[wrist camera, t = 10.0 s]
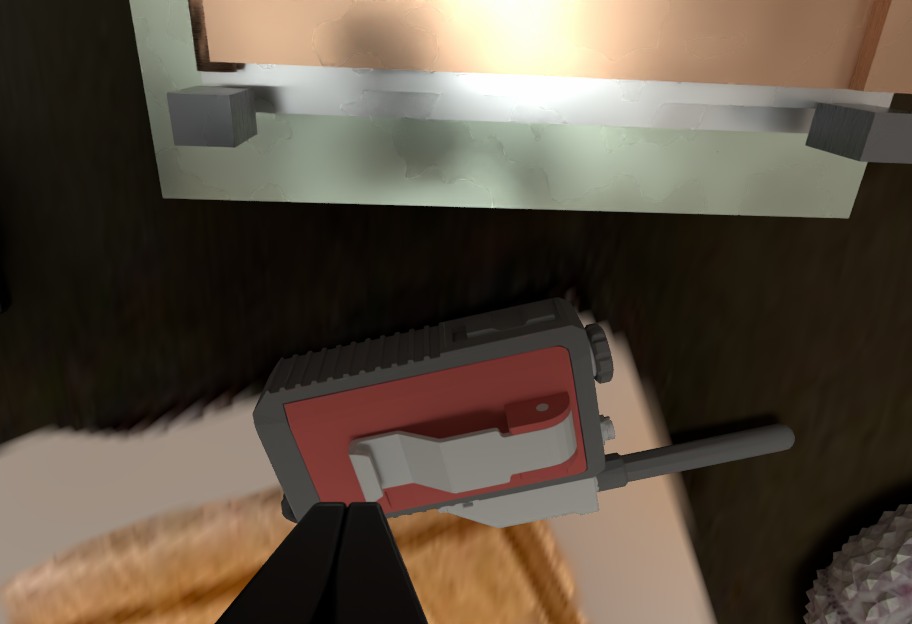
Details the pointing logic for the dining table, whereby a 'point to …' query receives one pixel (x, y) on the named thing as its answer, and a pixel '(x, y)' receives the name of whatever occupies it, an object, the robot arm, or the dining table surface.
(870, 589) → the sea urchin shell
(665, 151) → the heat sink board
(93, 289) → the dining table surface
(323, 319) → the dining table surface
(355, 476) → the walkie-talkie
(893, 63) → the strap
